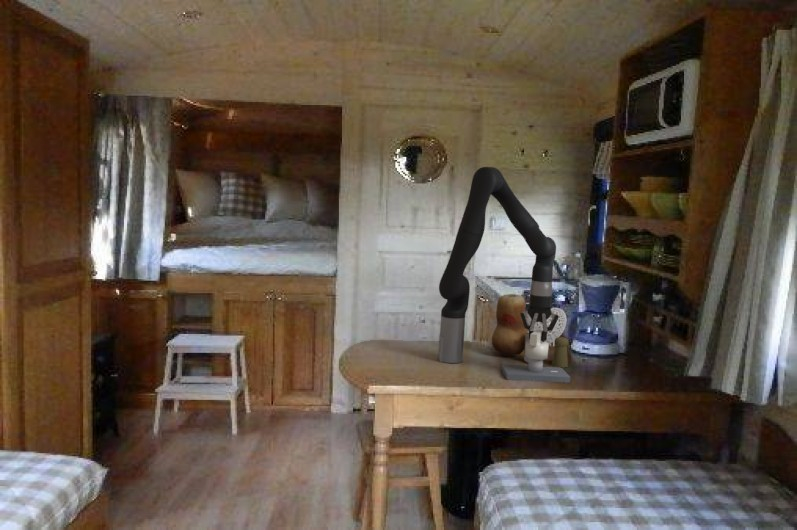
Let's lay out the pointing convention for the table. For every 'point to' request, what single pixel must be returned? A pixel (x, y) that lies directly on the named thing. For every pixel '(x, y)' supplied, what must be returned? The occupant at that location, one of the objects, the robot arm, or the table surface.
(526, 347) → the coupling
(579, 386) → the table surface
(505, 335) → the butternut squash
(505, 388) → the table surface
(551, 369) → the baseplate
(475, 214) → the robot arm
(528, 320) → the decorative heart
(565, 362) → the cork
